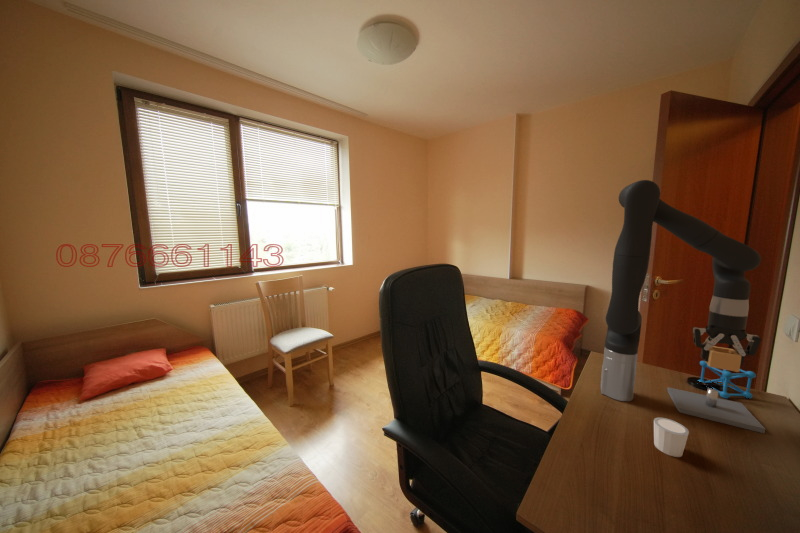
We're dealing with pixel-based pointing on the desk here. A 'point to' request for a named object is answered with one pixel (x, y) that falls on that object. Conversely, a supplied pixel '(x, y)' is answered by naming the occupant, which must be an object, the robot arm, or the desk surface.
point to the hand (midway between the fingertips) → (720, 362)
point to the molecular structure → (728, 380)
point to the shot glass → (670, 436)
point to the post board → (715, 410)
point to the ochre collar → (724, 359)
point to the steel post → (711, 397)
